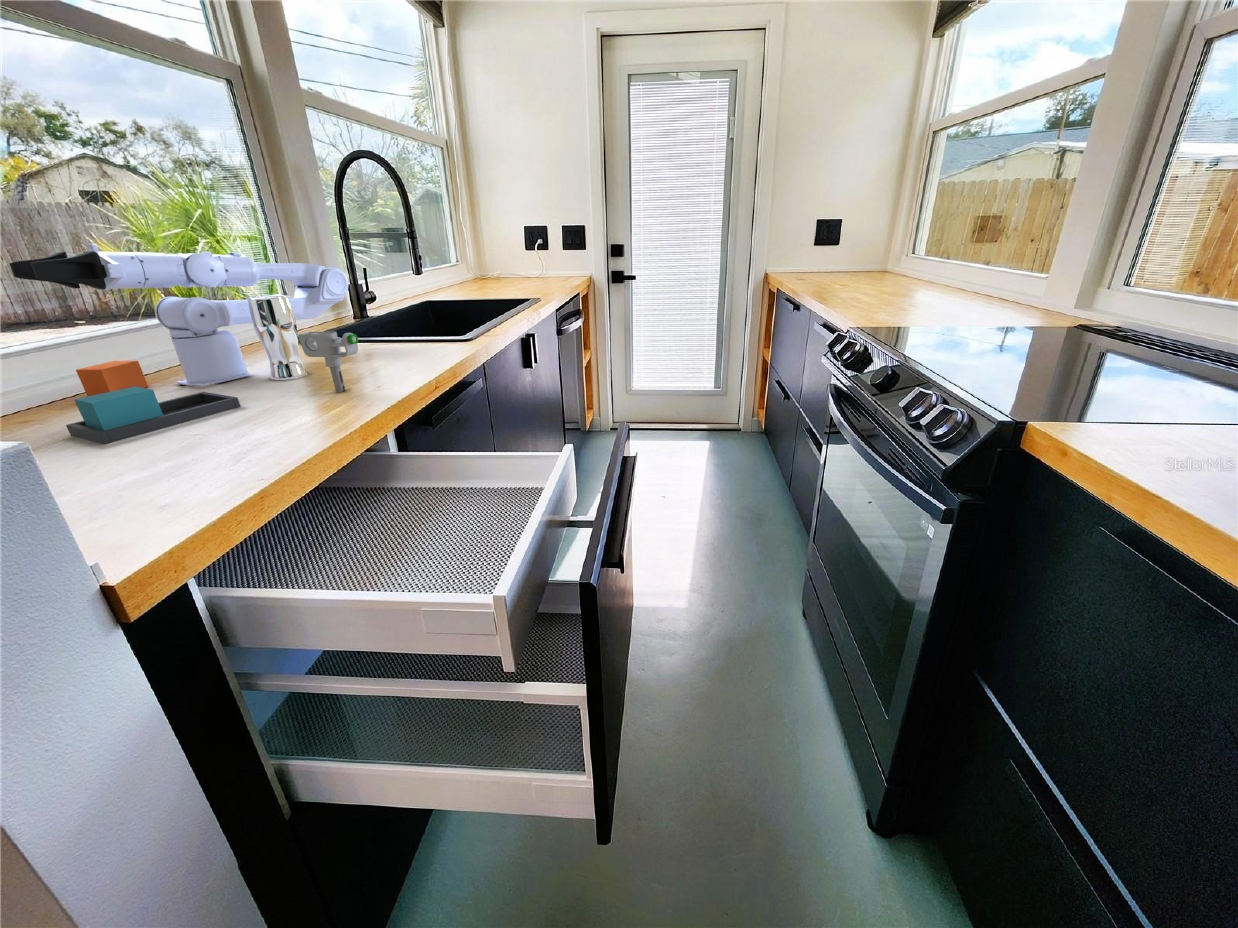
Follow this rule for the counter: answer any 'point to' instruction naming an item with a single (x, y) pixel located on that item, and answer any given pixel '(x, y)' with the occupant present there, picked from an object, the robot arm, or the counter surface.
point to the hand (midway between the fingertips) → (23, 270)
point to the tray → (160, 417)
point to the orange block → (111, 377)
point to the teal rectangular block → (118, 408)
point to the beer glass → (277, 335)
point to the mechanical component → (330, 351)
